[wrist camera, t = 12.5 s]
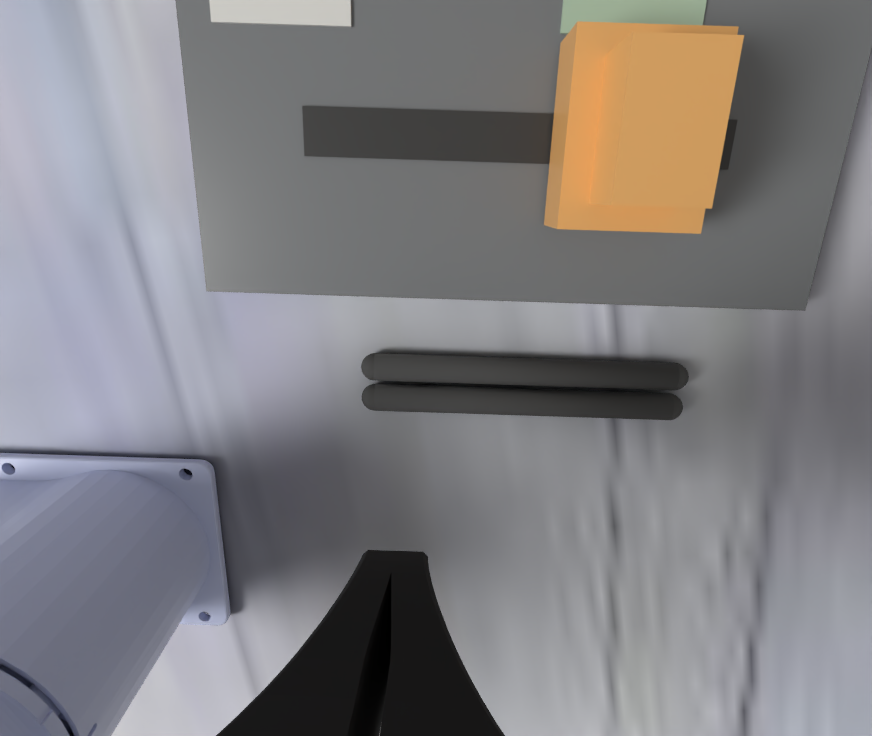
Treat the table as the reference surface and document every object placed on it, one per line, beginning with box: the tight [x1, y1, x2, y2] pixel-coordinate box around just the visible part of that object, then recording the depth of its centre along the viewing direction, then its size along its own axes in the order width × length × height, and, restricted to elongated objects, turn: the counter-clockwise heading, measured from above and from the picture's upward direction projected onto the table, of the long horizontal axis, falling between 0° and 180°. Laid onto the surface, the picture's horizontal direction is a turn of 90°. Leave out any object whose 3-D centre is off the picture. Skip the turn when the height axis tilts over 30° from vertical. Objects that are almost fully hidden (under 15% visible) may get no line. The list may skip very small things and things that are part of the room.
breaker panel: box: [176, 0, 872, 311], centre depth 17 cm, size 20×10×2 cm, turn 88°
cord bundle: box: [361, 353, 689, 420], centre depth 20 cm, size 12×2×1 cm, turn 88°
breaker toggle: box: [544, 21, 744, 234], centre depth 14 cm, size 4×5×4 cm
